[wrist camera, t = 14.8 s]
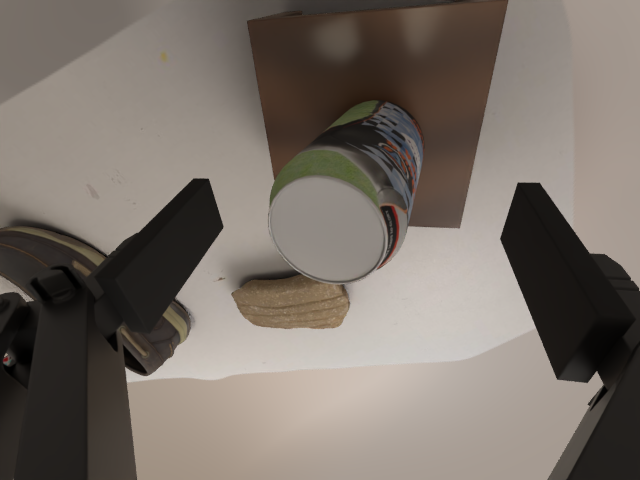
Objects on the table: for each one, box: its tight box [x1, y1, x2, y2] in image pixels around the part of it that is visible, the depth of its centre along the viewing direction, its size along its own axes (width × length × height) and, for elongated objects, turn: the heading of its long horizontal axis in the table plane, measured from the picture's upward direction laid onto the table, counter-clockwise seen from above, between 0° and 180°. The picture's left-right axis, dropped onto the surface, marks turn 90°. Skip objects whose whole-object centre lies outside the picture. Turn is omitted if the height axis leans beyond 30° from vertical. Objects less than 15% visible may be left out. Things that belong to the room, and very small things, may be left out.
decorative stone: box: [231, 274, 350, 329], centre depth 44 cm, size 10×16×4 cm, turn 110°
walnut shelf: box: [247, 0, 508, 228], centre depth 25 cm, size 14×14×8 cm
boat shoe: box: [0, 226, 190, 376], centre depth 46 cm, size 11×29×11 cm, turn 58°
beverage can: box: [268, 100, 425, 284], centre depth 17 cm, size 6×7×12 cm
